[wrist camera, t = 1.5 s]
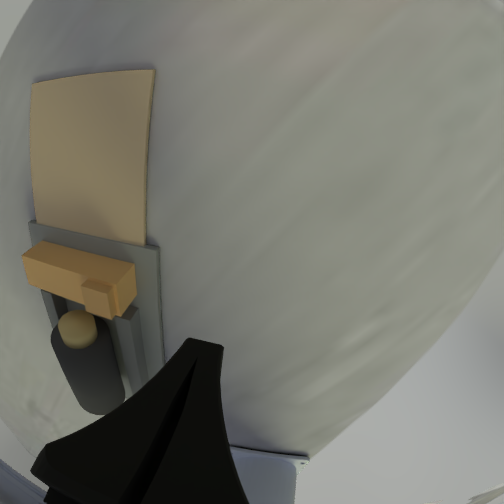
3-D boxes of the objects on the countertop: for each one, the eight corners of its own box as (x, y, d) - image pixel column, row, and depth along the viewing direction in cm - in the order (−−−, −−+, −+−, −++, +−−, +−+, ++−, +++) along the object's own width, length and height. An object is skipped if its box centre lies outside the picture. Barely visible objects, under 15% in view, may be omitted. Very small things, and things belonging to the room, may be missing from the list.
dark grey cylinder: (133, 383, 20) (113, 422, 16) (90, 366, 20) (68, 402, 17) (118, 311, 16) (86, 356, 13) (69, 295, 17) (34, 333, 13)
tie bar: (137, 294, 16) (115, 323, 13) (47, 267, 16) (23, 289, 14) (134, 263, 15) (110, 291, 12) (42, 240, 15) (15, 260, 13)
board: (169, 407, 21) (164, 422, 20) (75, 373, 22) (67, 384, 21) (171, 69, 10) (155, 65, 9) (27, 85, 11) (7, 87, 10)
